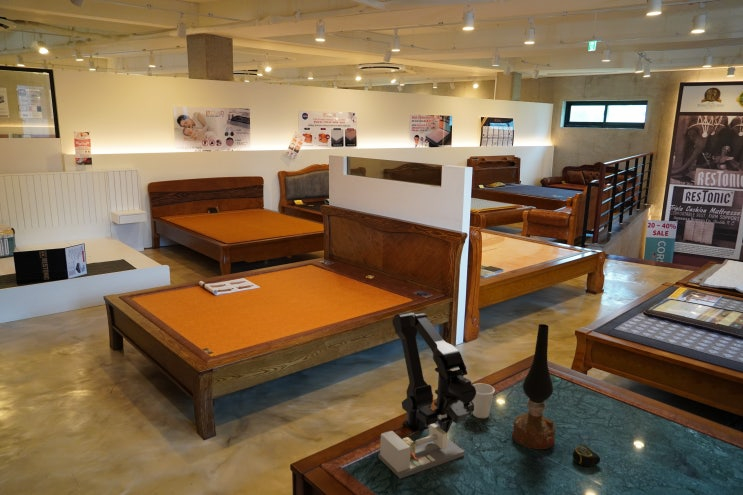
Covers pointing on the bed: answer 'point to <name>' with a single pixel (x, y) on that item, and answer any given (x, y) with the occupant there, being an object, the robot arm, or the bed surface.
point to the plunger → (435, 437)
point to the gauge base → (428, 454)
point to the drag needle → (412, 445)
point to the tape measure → (585, 456)
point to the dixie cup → (482, 400)
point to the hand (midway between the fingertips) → (444, 434)
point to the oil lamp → (536, 400)
